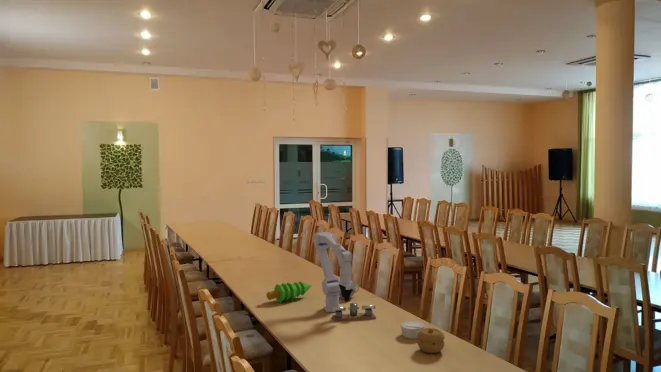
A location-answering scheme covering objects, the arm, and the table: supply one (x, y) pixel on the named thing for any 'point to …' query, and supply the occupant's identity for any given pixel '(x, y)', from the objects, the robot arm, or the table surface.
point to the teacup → (352, 286)
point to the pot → (430, 340)
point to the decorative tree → (288, 291)
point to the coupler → (353, 309)
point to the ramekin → (411, 329)
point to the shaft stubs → (339, 311)
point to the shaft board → (359, 317)
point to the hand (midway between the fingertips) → (345, 299)
